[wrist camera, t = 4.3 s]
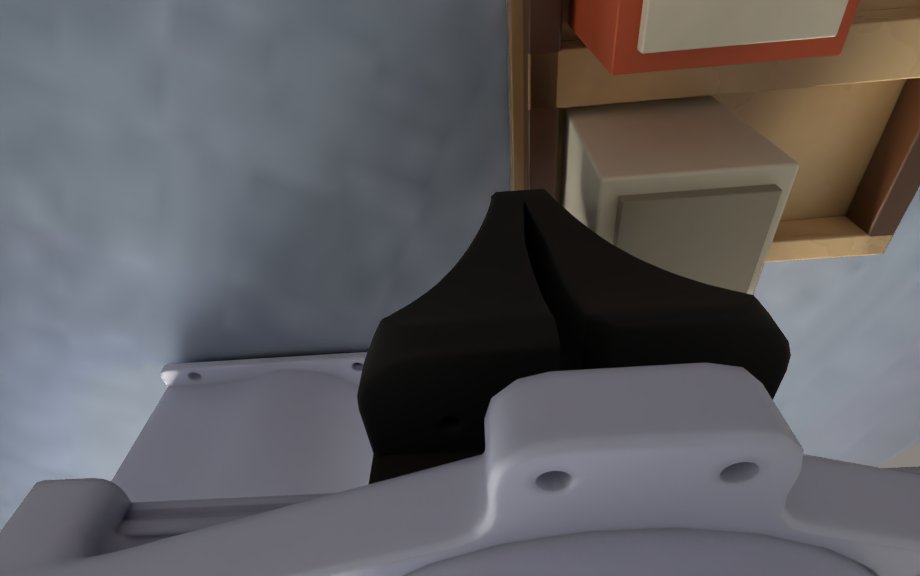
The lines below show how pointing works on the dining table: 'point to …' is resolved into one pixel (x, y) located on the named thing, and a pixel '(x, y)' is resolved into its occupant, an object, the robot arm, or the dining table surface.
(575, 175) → the cream panelled block
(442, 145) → the dining table surface
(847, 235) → the divided wooden tray
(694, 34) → the red block with panel
